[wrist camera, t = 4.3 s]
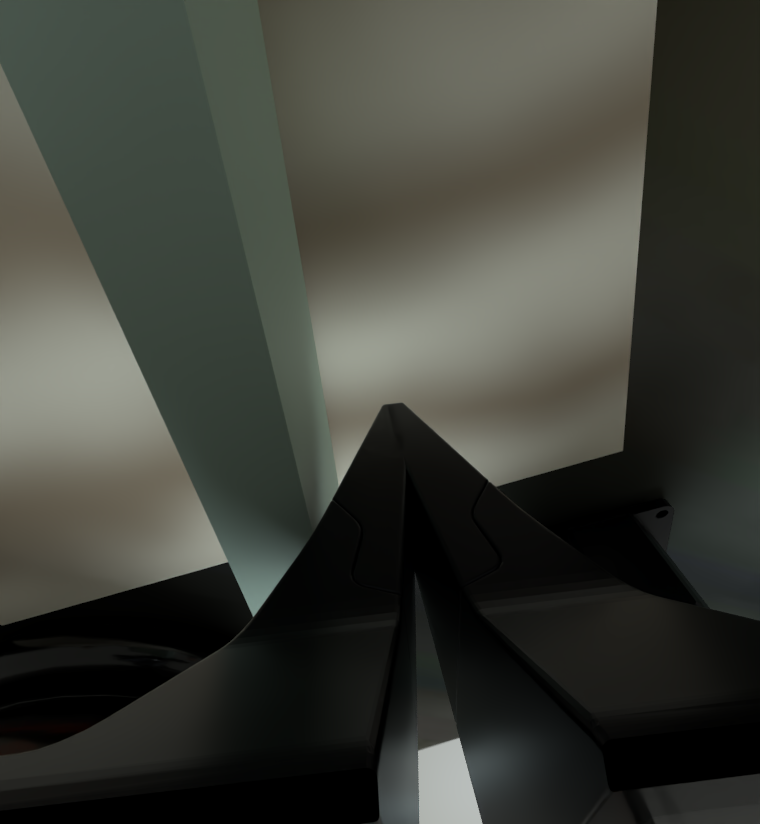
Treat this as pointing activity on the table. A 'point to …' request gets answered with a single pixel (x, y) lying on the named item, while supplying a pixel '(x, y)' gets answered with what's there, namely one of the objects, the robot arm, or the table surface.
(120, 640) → the amphora vase
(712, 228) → the table surface
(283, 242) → the gate
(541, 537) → the robot arm
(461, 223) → the gate base
